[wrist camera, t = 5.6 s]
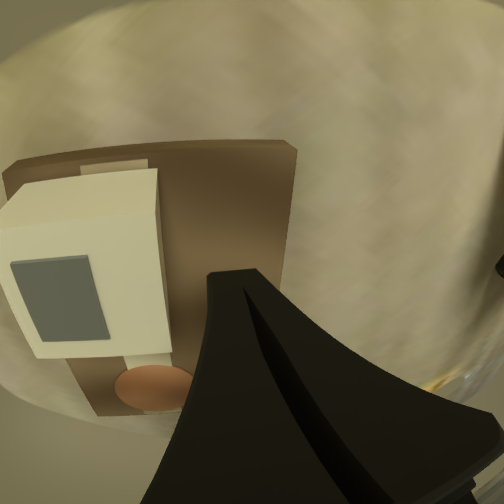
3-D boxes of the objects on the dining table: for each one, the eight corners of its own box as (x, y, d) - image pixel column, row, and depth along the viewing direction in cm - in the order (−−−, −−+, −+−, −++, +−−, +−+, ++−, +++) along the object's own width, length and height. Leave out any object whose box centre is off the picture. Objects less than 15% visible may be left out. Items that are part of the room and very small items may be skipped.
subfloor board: (256, 382, 21) (262, 402, 20) (98, 398, 19) (97, 418, 17) (283, 140, 13) (299, 150, 11) (17, 160, 10) (0, 174, 9)
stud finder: (167, 286, 13) (172, 355, 10) (55, 295, 12) (36, 361, 9) (157, 168, 10) (155, 215, 7) (24, 183, 9) (-21, 234, 6)
